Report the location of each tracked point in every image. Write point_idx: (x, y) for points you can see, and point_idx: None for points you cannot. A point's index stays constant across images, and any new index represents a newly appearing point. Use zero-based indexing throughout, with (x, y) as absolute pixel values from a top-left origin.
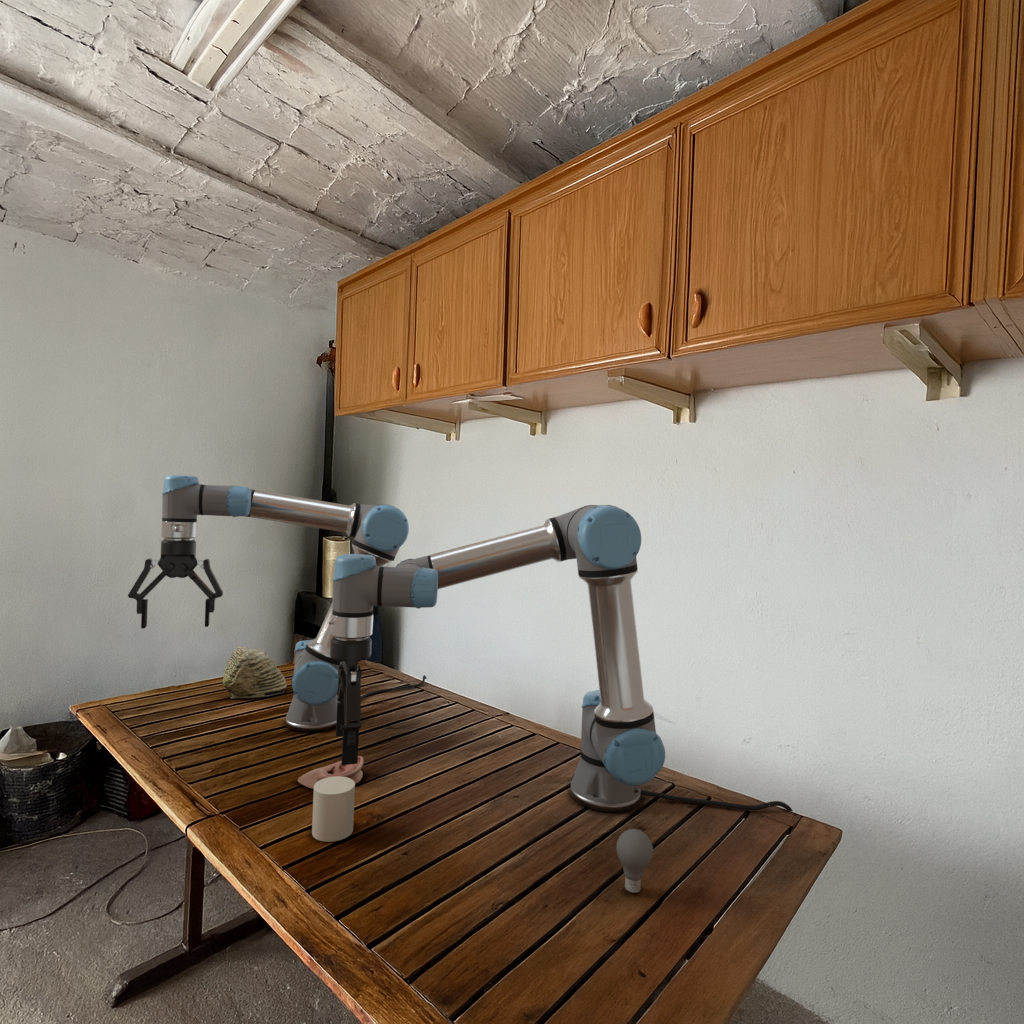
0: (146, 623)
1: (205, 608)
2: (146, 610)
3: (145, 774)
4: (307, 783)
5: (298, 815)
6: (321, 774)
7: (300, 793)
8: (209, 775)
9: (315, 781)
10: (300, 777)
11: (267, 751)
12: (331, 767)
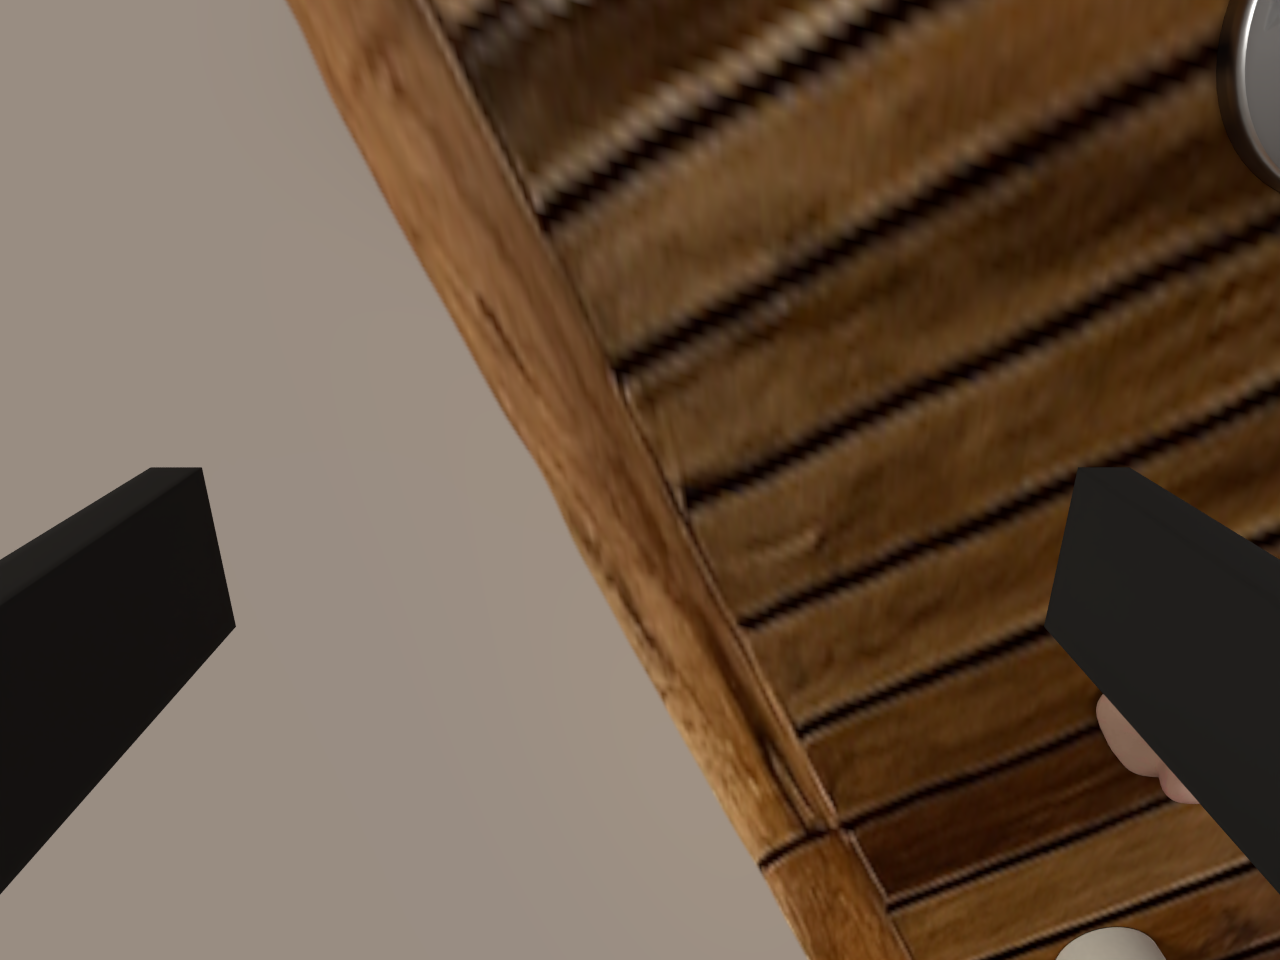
0: (182, 523)
1: (1247, 848)
2: (30, 701)
3: (579, 517)
4: (1121, 750)
5: (1043, 882)
6: (1183, 787)
7: (1082, 772)
8: (808, 580)
9: (1149, 764)
10: (1111, 709)
11: (1048, 401)
12: None
